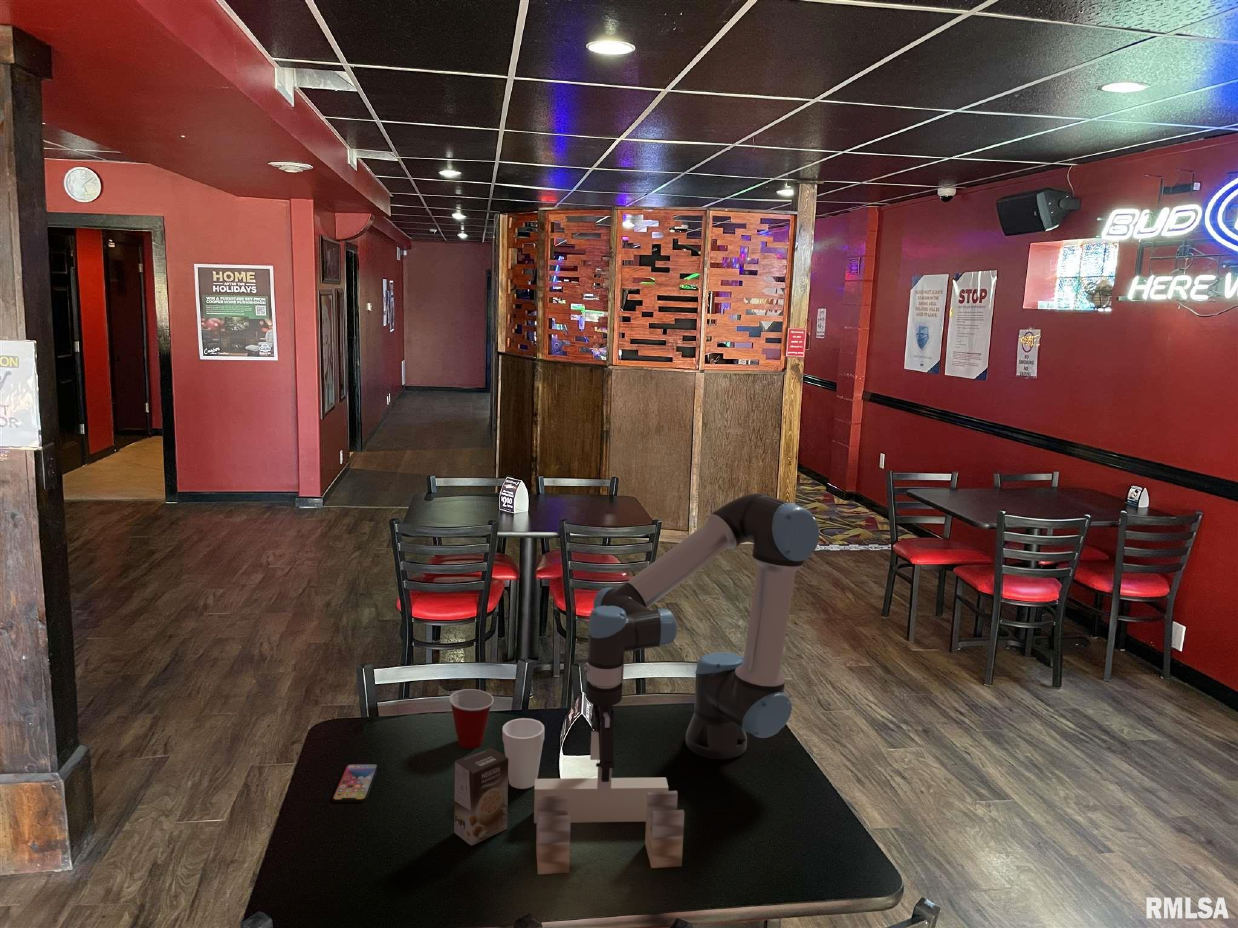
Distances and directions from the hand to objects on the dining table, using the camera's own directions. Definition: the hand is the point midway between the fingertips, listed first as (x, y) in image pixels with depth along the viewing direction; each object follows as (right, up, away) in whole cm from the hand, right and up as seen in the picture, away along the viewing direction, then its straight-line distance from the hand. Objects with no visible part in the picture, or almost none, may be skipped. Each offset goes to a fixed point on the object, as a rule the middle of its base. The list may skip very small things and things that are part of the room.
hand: (600, 775), depth 187 cm
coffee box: (-24, -10, -4) cm, 27 cm away
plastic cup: (-32, -3, +30) cm, 44 cm away
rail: (0, -10, +2) cm, 10 cm away
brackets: (+2, -12, -12) cm, 17 cm away
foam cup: (-18, -6, +15) cm, 24 cm away
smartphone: (-55, -6, +12) cm, 56 cm away
